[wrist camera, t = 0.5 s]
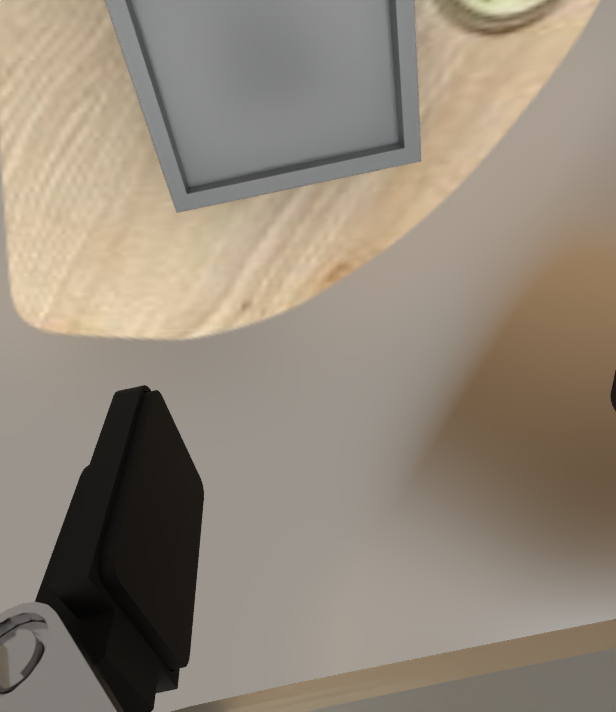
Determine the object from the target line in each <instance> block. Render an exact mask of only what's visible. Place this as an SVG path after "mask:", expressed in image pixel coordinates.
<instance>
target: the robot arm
mask: <svg viewBox="0 0 616 712" xmlns="http://www.w3.org/2000/svg"><path fill="white" fill-rule="evenodd" d="M611 402H612V405H613V407H614V409H615V411H616V372H615V376H614V381H613V385H612V390H611ZM203 501H204V490H203V484H202V481H201V478H200V476H199V474H198V472H197V470H196V468H195V466H194V463H193V461H192V459H191V457H190V455H189V453H188V451H187V448H186V446H185V444H184V442H183V440H182V438H181V435H180V433H179V431H178V429H177V427H176V425H175V423H174V421H173V418H172V416H171V414H170V412H169V410H168V408H167V405H166V404H165V401H164V399H163V397H162V395H161V393H160V392H159V391H157V390H155V391H151V390H150V388H148V387H147V386H145V385H144V386H139V387H134V388H130V389H125V390H121V391H117V392H115V394H114V396H113V399H112V402H111V405H110V408H109V410H108V413H107V416H106V419H105V422H104V425H103V428H102V430H101V433H100V436H99V439H98V442H97V445H96V448H95V451H94V453H93V456H92V459H91V462H90V465H88V466H87V467H86V468H85V469H84V470H83V472H82V474H81V476H80V478H79V481H78V484H77V486H76V489H75V492H74V495H73V498H72V500H71V503H70V506H69V509H68V512H67V514H66V517H65V520H64V523H63V525H62V528H61V531H60V534H59V536H58V539H57V542H56V545H55V548H54V550H53V553H52V556H51V559H50V561H49V564H48V567H47V570H46V572H45V575H44V578H43V581H42V584H41V586H40V589H39V592H38V595H37V597H36V600H35V602H32V603H23V604H20V605H18V606H15V607H13V608H10V609H8V610H6V611H4V612H3V613H1V614H0V712H151V711H152V710H153V708H154V701H155V694H156V693H159V692H164V691H169V690H174V689H177V688H178V679H179V669H180V668H183V667H186V666H187V664H188V661H189V656H190V647H191V635H192V625H193V613H194V602H195V591H196V580H197V569H198V557H199V546H200V535H201V524H202V513H203ZM172 712H616V619H613V620H608V621H603V622H598V623H593V624H588V625H583V626H578V627H573V628H568V629H563V630H557V631H552V632H547V633H542V634H537V635H533V636H527V637H522V638H517V639H513V640H507V641H502V642H497V643H492V644H487V645H482V646H477V647H472V648H467V649H462V650H457V651H452V652H447V653H442V654H437V655H432V656H428V657H422V658H417V659H412V660H407V661H402V662H397V663H393V664H388V665H383V666H378V667H373V668H368V669H363V670H358V671H353V672H348V673H343V674H339V675H334V676H328V677H324V678H319V679H314V680H309V681H304V682H299V683H294V684H290V685H285V686H280V687H276V688H271V689H267V690H263V691H258V692H253V693H249V694H245V695H240V696H235V697H231V698H227V699H222V700H217V701H213V702H208V703H204V704H199V705H195V706H191V707H187V708H183V709H179V710H176V711H172Z"/></svg>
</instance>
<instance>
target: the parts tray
mask: <svg viewBox="0 0 616 712" xmlns="http://www.w3.org/2000/svg"><path fill="white" fill-rule="evenodd" d="M105 2H106V5H107V8H108V11H109V14H110V17H111V20H112V23H113V26H114V29H115V32H116V35H117V38H118V41H119V43H120V46H121V49H122V52H123V55H124V58H125V61H126V64H127V67H128V70H129V73H130V76H131V79H132V82H133V85H134V88H135V91H136V94H137V97H138V100H139V103H140V106H141V109H142V112H143V115H144V118H145V121H146V123H147V126H148V129H149V132H150V135H151V138H152V141H153V144H154V147H155V150H156V153H157V156H158V159H159V162H160V165H161V168H162V171H163V174H164V177H165V180H166V183H167V186H168V189H169V192H170V195H171V198H172V200H173V203H174V206H175V209H176V212H177V213H178V212H183V211H188V210H192V209H197V208H202V207H206V206H211V205H216V204H221V203H225V202H230V201H235V200H240V199H244V198H249V197H254V196H258V195H263V194H268V193H273V192H277V191H282V190H287V189H292V188H296V187H301V186H306V185H310V184H315V183H320V182H325V181H329V180H334V179H339V178H344V177H348V176H353V175H358V174H363V173H367V172H372V171H377V170H381V169H386V168H391V167H396V166H400V165H405V164H410V163H415V162H419V161H421V145H420V122H419V99H418V76H417V53H416V30H415V7H414V0H105Z"/></svg>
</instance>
